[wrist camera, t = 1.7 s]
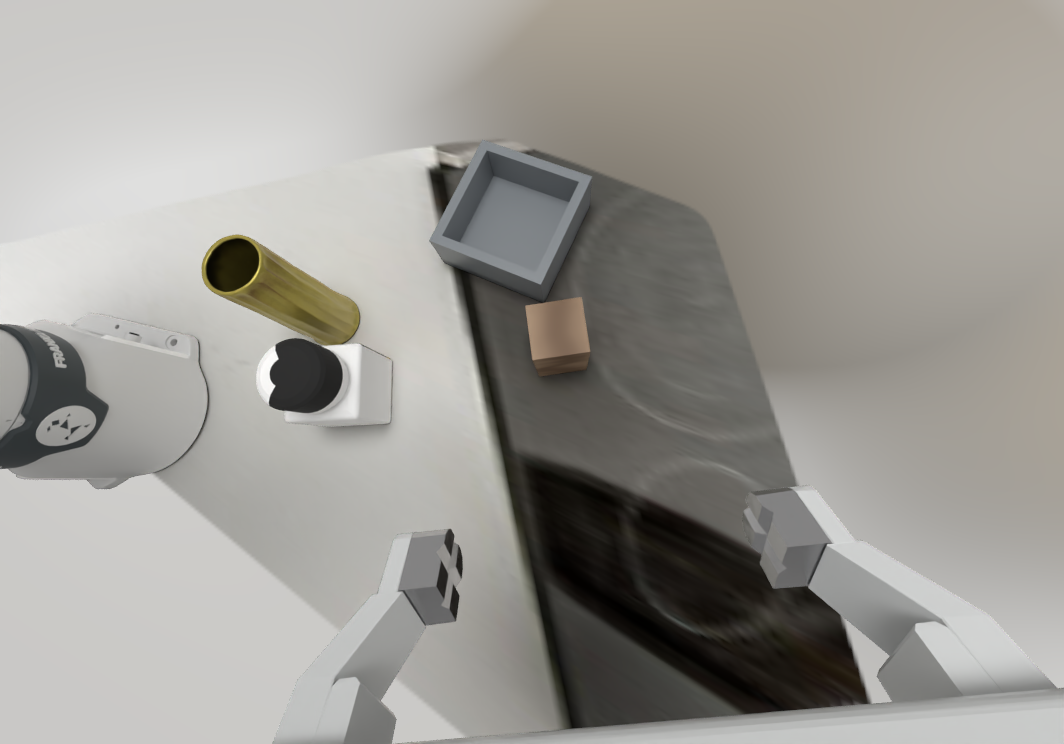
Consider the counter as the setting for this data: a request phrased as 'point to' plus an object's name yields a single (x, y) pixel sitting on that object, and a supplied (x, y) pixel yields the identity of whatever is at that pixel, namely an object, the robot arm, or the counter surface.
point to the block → (558, 336)
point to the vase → (278, 290)
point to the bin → (513, 219)
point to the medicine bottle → (326, 383)
